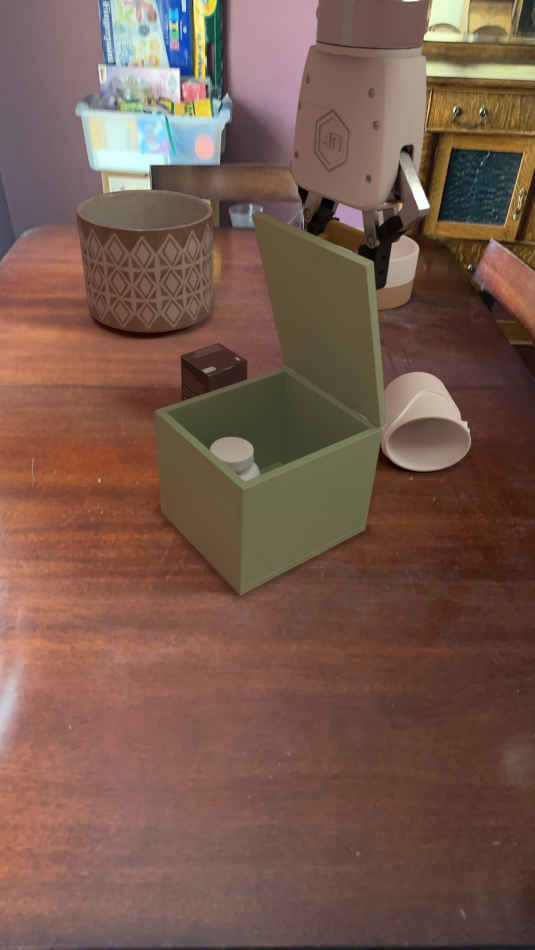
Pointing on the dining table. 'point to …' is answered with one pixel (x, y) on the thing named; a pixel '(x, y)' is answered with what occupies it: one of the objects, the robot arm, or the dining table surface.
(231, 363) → the box
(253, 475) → the pill bottle
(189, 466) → the chest
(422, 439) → the mug
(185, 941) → the dining table surface
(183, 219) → the planter
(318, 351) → the lid
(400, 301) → the bowl
